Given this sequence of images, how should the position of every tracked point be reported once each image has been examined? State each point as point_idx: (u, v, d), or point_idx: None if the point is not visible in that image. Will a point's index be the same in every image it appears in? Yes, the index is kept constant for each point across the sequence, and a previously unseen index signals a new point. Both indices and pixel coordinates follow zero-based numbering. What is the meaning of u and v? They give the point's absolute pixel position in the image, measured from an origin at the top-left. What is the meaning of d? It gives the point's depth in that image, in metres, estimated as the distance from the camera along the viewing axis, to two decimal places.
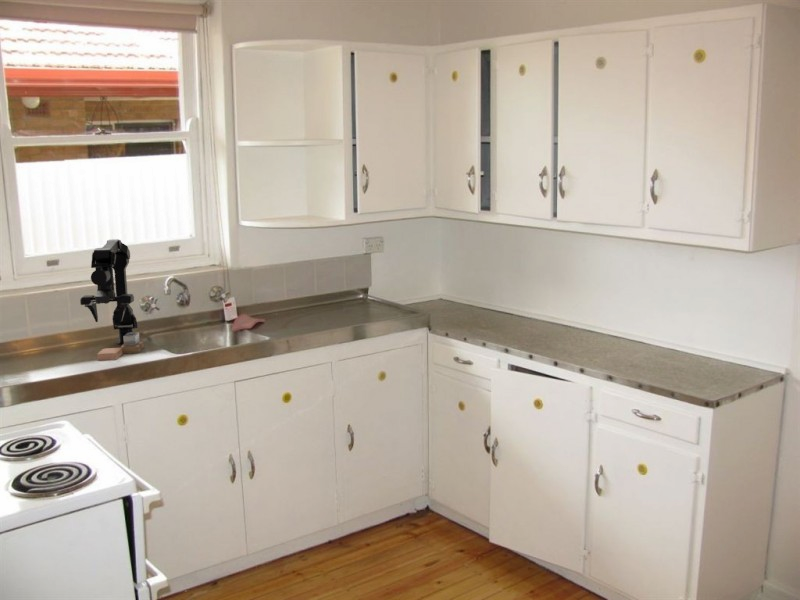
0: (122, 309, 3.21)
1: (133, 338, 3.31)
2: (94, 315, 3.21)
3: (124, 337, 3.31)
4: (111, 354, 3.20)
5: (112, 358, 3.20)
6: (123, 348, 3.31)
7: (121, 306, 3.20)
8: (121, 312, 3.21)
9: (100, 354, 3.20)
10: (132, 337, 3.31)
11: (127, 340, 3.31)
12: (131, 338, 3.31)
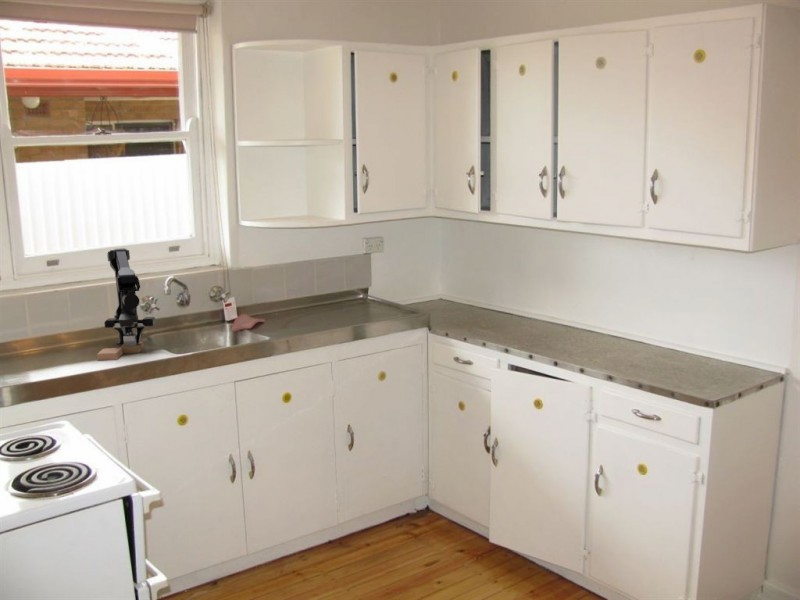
0: (139, 332, 3.33)
1: (133, 338, 3.31)
2: None
3: (124, 337, 3.31)
4: (111, 354, 3.20)
5: (112, 358, 3.20)
6: (123, 348, 3.31)
7: (138, 329, 3.32)
8: (138, 335, 3.33)
9: (100, 354, 3.20)
10: (132, 337, 3.31)
11: (127, 340, 3.31)
12: (131, 338, 3.31)
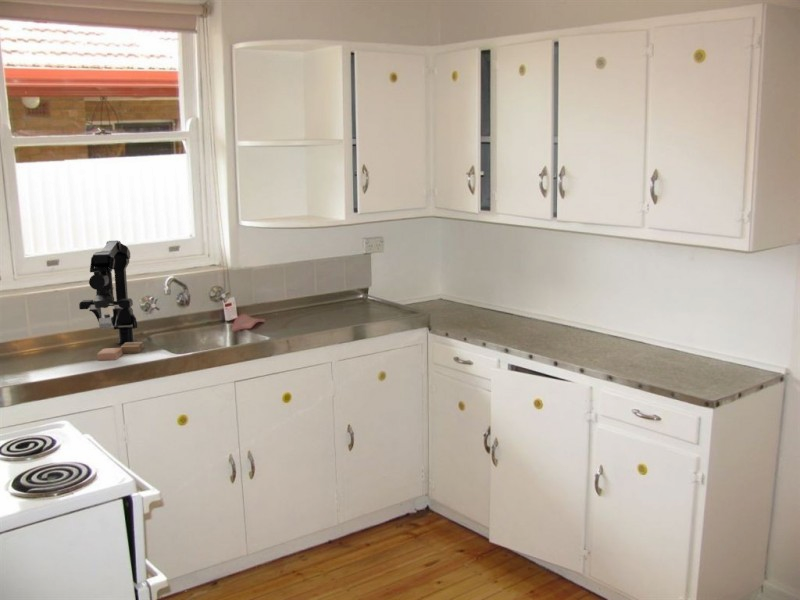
0: (115, 314, 3.21)
1: (109, 320, 3.19)
2: None
3: (100, 319, 3.19)
4: (111, 354, 3.20)
5: (112, 358, 3.20)
6: (123, 348, 3.31)
7: (114, 311, 3.20)
8: (114, 317, 3.21)
9: (100, 354, 3.20)
10: (108, 319, 3.19)
11: (103, 322, 3.19)
12: (107, 320, 3.19)
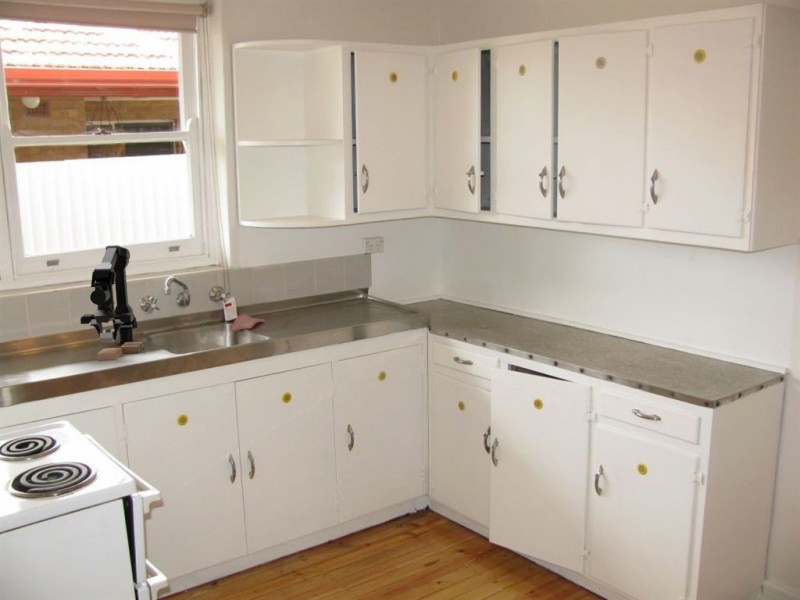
0: (116, 328, 3.22)
1: (110, 335, 3.20)
2: None
3: (101, 334, 3.19)
4: (111, 354, 3.20)
5: (112, 358, 3.20)
6: (123, 348, 3.31)
7: (115, 325, 3.21)
8: (115, 331, 3.22)
9: (100, 354, 3.20)
10: (109, 334, 3.20)
11: (104, 337, 3.20)
12: (108, 335, 3.20)
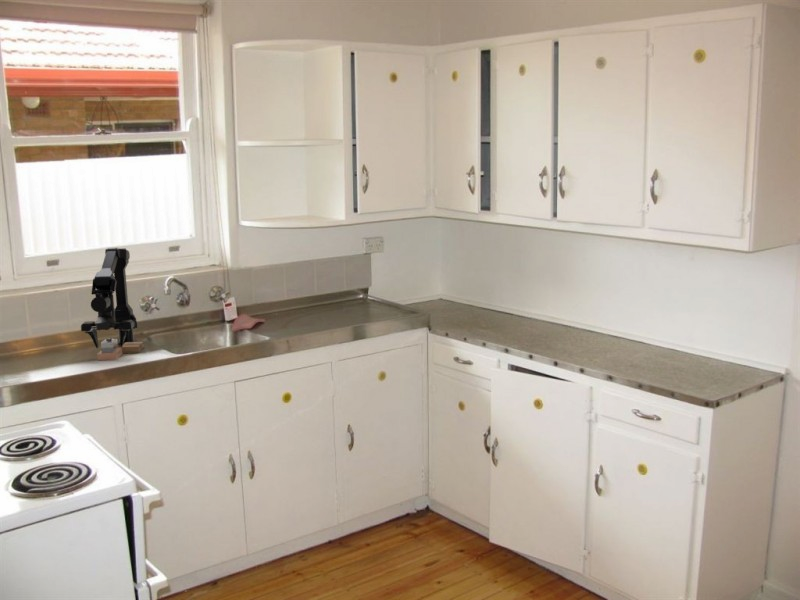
0: (122, 335, 3.22)
1: (111, 344, 3.20)
2: (94, 341, 3.22)
3: (101, 343, 3.20)
4: (111, 354, 3.20)
5: (112, 358, 3.20)
6: (123, 348, 3.31)
7: (121, 332, 3.21)
8: (121, 338, 3.23)
9: (100, 354, 3.20)
10: (110, 343, 3.20)
11: (105, 346, 3.20)
12: (109, 344, 3.20)
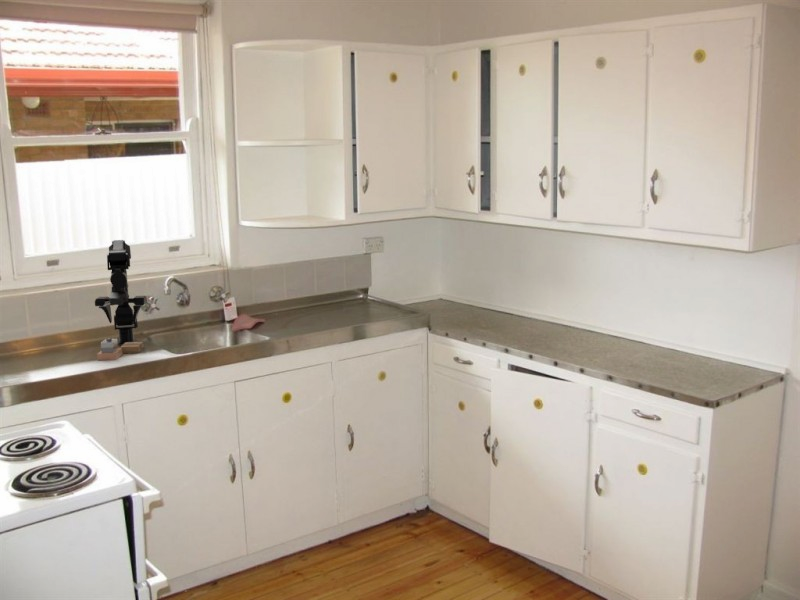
0: (135, 310, 3.26)
1: (111, 344, 3.20)
2: (108, 316, 3.26)
3: (101, 343, 3.20)
4: (111, 354, 3.20)
5: (112, 358, 3.20)
6: (123, 348, 3.31)
7: (134, 308, 3.25)
8: (134, 313, 3.27)
9: (100, 354, 3.20)
10: (110, 343, 3.20)
11: (105, 346, 3.20)
12: (109, 344, 3.20)
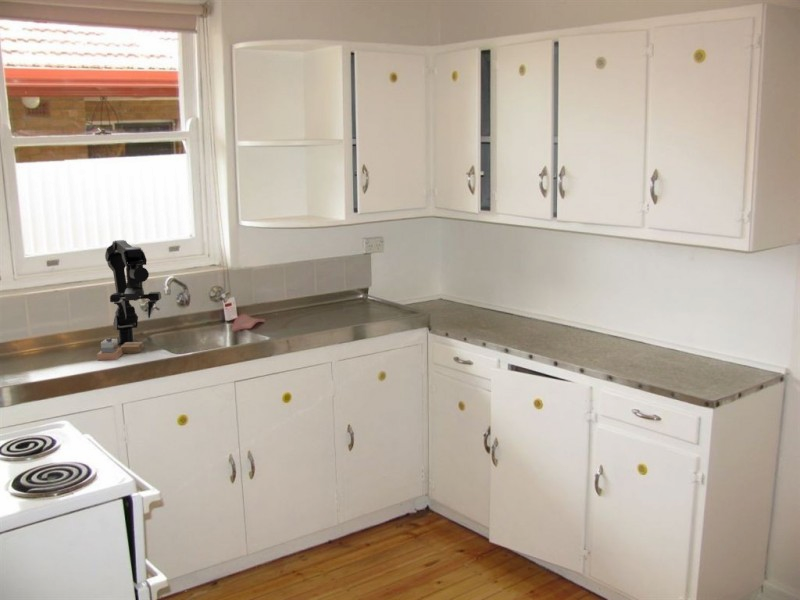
0: (150, 306, 3.31)
1: (111, 344, 3.20)
2: (123, 312, 3.31)
3: (101, 343, 3.20)
4: (111, 354, 3.20)
5: (112, 358, 3.20)
6: (123, 348, 3.31)
7: (149, 303, 3.30)
8: (149, 309, 3.32)
9: (100, 354, 3.20)
10: (110, 343, 3.20)
11: (105, 346, 3.20)
12: (109, 344, 3.20)
